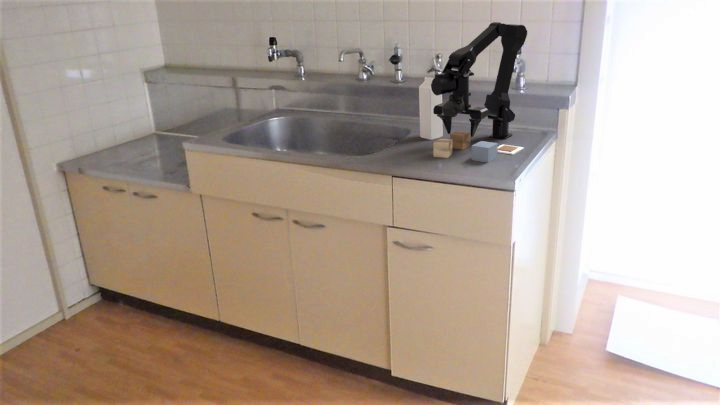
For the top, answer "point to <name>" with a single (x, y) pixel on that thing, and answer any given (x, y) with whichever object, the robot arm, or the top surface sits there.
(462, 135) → the walnut block
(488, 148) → the base block
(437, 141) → the maple block
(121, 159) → the top surface
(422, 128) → the milk
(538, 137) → the top surface
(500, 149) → the swatch
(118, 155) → the top surface
